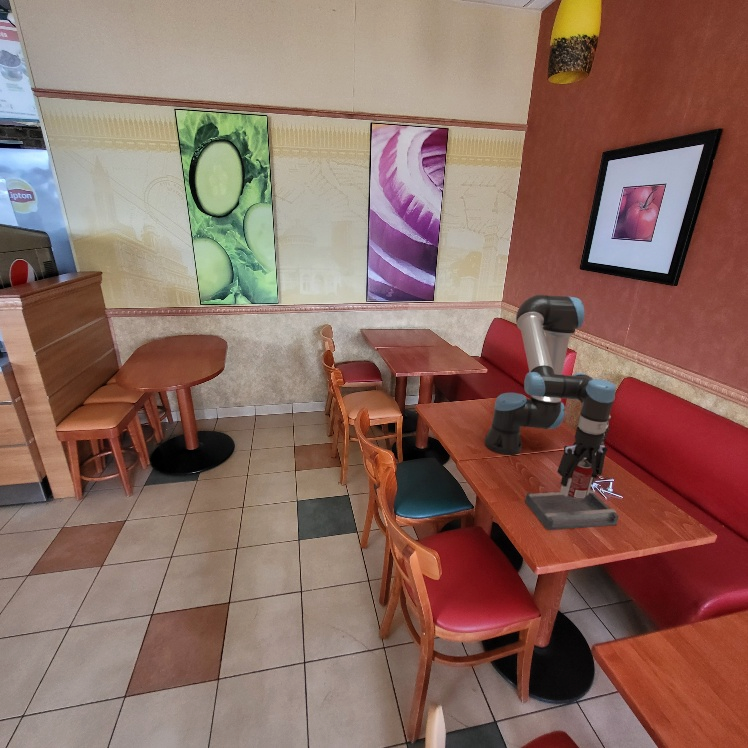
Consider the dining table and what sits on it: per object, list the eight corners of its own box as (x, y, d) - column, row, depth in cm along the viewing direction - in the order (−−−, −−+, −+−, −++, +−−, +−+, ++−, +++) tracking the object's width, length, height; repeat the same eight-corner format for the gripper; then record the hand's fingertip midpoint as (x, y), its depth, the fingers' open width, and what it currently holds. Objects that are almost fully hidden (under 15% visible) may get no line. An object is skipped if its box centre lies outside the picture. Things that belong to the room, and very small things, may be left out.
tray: (524, 501, 138) (526, 491, 136) (587, 497, 142) (590, 487, 141) (547, 530, 125) (550, 519, 124) (616, 524, 129) (619, 514, 128)
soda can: (588, 502, 127) (597, 469, 123) (565, 499, 128) (573, 466, 124) (582, 490, 133) (590, 458, 129) (560, 486, 134) (568, 455, 131)
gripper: (569, 436, 118) (553, 502, 125) (628, 434, 121) (609, 498, 129) (554, 424, 125) (540, 487, 132) (610, 423, 128) (593, 484, 136)
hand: (574, 493), depth 131 cm, fingers closed on soda can, 7 cm apart
